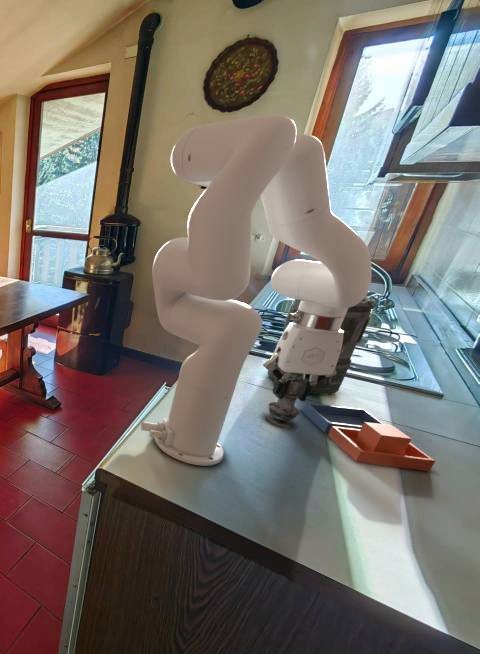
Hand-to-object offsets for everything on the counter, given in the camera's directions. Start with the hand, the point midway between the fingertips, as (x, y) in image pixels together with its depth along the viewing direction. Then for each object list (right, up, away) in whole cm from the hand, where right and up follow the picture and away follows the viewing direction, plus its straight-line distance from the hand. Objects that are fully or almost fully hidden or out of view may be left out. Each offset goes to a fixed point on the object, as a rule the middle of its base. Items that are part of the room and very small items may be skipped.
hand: (288, 396), depth 88 cm
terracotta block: (+12, -10, -8) cm, 18 cm away
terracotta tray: (+12, -11, -8) cm, 18 cm away
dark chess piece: (0, -6, +3) cm, 7 cm away
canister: (+21, +1, +21) cm, 30 cm away
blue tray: (+14, -7, +2) cm, 16 cm away
